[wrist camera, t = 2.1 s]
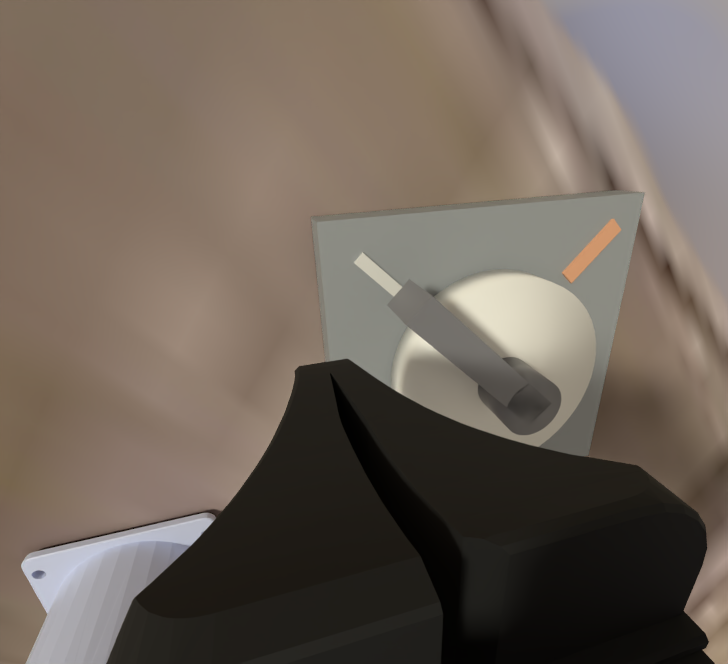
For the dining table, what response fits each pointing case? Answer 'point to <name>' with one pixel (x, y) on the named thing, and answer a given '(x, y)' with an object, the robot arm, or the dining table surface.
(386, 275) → the dial plate
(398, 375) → the dial
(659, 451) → the dining table surface
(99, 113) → the dining table surface
